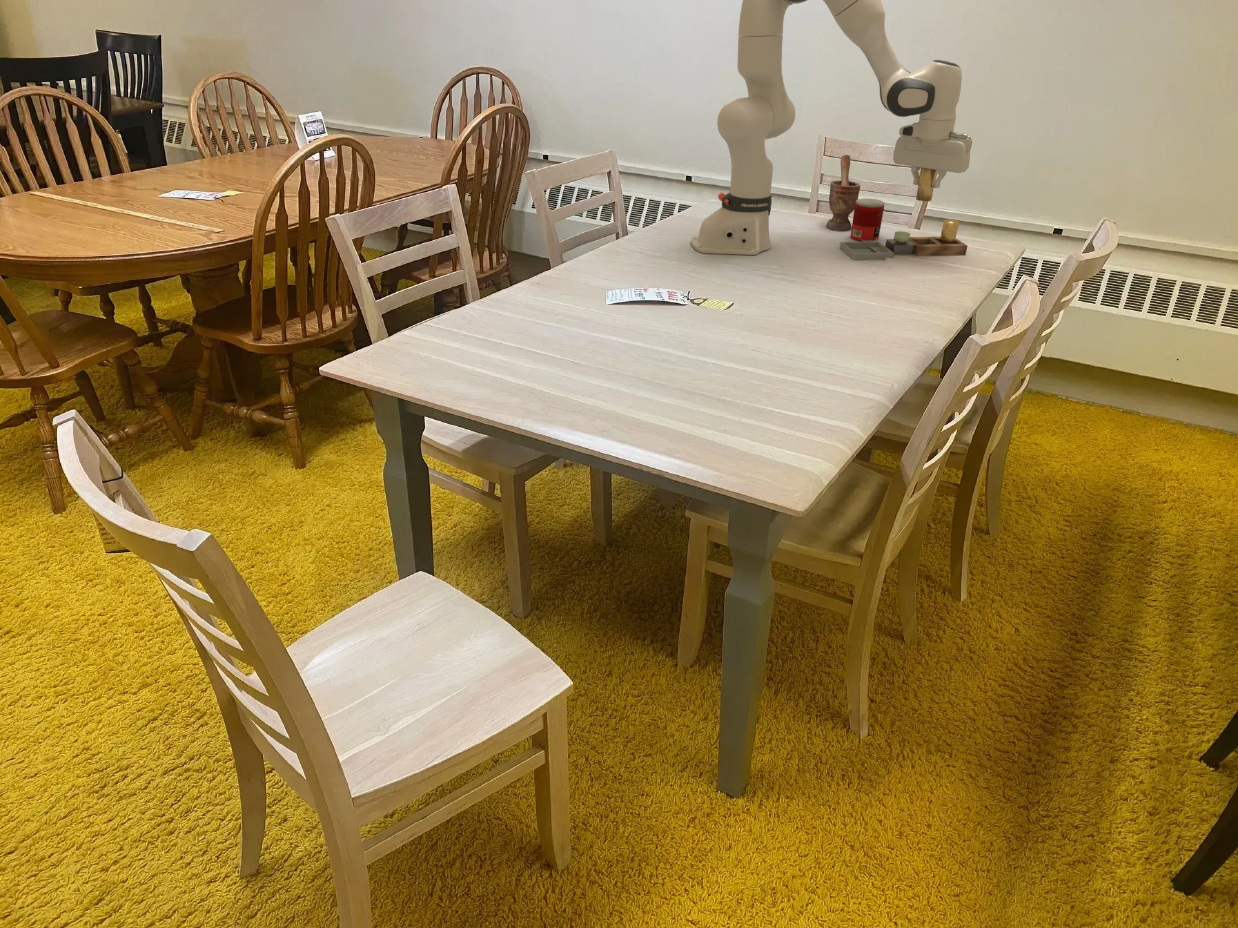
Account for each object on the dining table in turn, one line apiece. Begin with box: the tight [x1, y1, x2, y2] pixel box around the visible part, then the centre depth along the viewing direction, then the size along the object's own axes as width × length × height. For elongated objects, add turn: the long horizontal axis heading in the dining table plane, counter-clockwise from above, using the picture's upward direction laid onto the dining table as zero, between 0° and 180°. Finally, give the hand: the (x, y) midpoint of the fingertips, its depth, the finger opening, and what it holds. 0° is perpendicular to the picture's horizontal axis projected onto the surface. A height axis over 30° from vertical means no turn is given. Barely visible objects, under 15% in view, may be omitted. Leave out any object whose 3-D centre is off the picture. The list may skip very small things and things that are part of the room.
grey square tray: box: [839, 240, 895, 261], centre depth 228 cm, size 11×11×2 cm
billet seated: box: [939, 218, 960, 244], centre depth 228 cm, size 4×4×8 cm
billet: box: [915, 168, 938, 202], centre depth 220 cm, size 4×4×8 cm
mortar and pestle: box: [826, 154, 861, 232], centre depth 249 cm, size 12×9×20 cm
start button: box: [893, 230, 911, 244], centre depth 228 cm, size 4×4×5 cm
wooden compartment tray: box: [909, 236, 968, 257], centre depth 230 cm, size 14×9×4 cm, turn 96°
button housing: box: [884, 238, 916, 256], centre depth 229 cm, size 6×6×4 cm
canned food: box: [850, 198, 885, 242], centre depth 239 cm, size 8×8×11 cm
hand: (926, 186), depth 220 cm, fingers closed on billet, 4 cm apart
